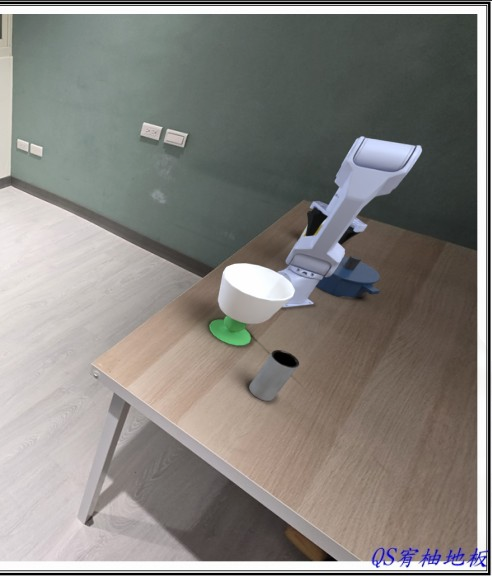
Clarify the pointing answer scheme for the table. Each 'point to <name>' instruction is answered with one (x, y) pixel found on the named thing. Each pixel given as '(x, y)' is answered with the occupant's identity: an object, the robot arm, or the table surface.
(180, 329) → the table surface
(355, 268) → the lid
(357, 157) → the robot arm
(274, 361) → the planter
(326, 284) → the pan
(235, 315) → the cup
